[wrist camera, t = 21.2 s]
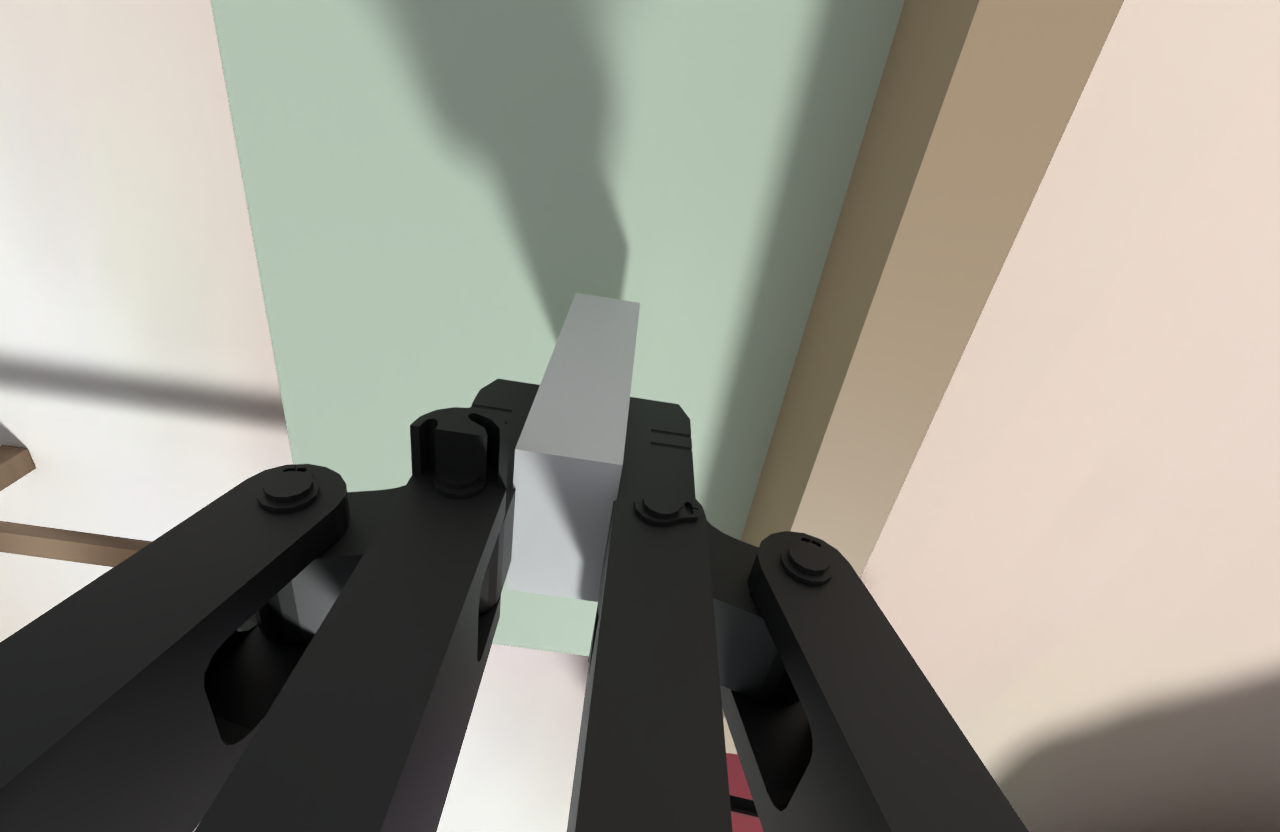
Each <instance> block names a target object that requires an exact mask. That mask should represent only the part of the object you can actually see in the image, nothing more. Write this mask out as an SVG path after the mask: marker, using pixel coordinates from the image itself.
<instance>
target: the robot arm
mask: <svg viewBox="0 0 1280 832" xmlns="http://www.w3.org/2000/svg"><path fill="white" fill-rule="evenodd" d="M639 309H640V303H638V302H632V301H625V300H619V299H613V298H607V297H600V296H594V295H588V294H582V293H576V294H575V297H574V299H573V302H572V304H571V307H570V309H569V312H568V315H567V317H566V320H565V322H564V325H563V327H562V330H561V332H560V335H559V338H558V340H557V343H556V345H555V348H554V350H553V353H552V356H551V358H550V361H549V363H548V366H547V368H546V371H545V373H544V376H543V379H542V381H541V384H540V385H537V384H531V383H524V382H517V381H511V380H504V379H496V380H495V381H493V382H491V383H490V384H488V385H487V386H485V387H483V388H482V389H480V390H479V392H478V394H477V396H476V397H475V399H474V401H473V403H472V406H471V407H470V408H460V407H453V408H446V409H439V410H435V411H432V412H430V413H427V414H424V415H422V416H420V417H419V418H418V419H416V420H415V421H414V422H413V423H412V424H411V425H410V439H411V461H412V476H411V478H410V479H409V481H408V483H407V484H406V485H404V486H401V487H397V488H392V489H384V490H374V491H359V492H347V486H346V483H345V481H344V480H343V478H342V477H341V475H340V474H339V473H337V472H335V471H333V470H331V469H329V468H327V467H324V466H318V465H312V464H294V465H284V466H280V467H276V468H272V469H268V470H265V471H263V472H261V473H259V474H257V475H255V476H252V477H250V478H248V479H246V480H245V481H243V482H242V483H240V484H239V485H237V486H236V487H234V488H233V489H231V490H230V491H228V492H227V493H225V494H224V495H222V496H221V497H219V498H218V499H216V500H215V501H213V502H212V503H210V504H209V505H207V506H206V507H204V508H203V509H201V510H200V511H198V512H197V513H195V514H194V515H192V516H191V517H189V518H188V519H186V520H185V521H183V522H182V523H180V524H179V525H177V526H176V527H174V528H173V529H171V530H169V531H168V532H166V533H165V534H163V535H162V536H160V537H159V538H157V539H156V540H154V541H153V542H151V543H150V544H148V545H147V546H145V547H144V548H142V549H141V550H139V551H138V552H136V553H135V554H133V555H132V556H130V557H129V558H127V559H126V560H124V561H123V562H121V563H120V564H118V565H117V566H115V567H114V568H112V569H111V570H109V571H108V572H106V573H105V574H103V575H102V576H100V577H99V578H97V579H96V580H94V581H93V582H91V583H90V584H88V585H87V586H85V587H84V588H82V589H81V590H79V591H78V592H76V593H74V594H73V595H71V596H70V597H68V598H67V599H65V600H64V601H62V602H61V603H59V604H58V605H56V606H55V607H53V608H52V609H50V610H49V611H47V612H46V613H44V614H43V615H41V616H40V617H38V618H37V619H35V620H34V621H32V622H31V623H29V624H28V625H26V626H25V627H23V628H22V629H20V630H19V631H17V632H16V633H14V634H13V635H11V636H10V637H8V638H7V639H5V640H4V641H2V642H1V643H0V832H192V831H193V830H194V829H195V828H196V827H197V825H198V824H199V823H200V824H199V826H198V827H197V829H196V831H195V832H436V831H437V827H438V824H439V821H440V817H441V814H442V811H443V807H444V804H445V800H446V797H447V794H448V790H449V787H450V784H451V780H452V777H453V773H454V770H455V767H456V763H457V760H458V756H459V753H460V750H461V746H462V743H463V740H464V736H465V733H466V729H467V726H468V723H469V719H470V716H471V713H472V709H473V706H474V702H475V699H476V696H477V692H478V689H479V685H480V682H481V679H482V675H483V672H484V669H485V665H486V662H487V658H488V655H489V652H490V648H491V645H492V642H493V638H494V635H495V631H496V628H497V625H498V621H499V618H500V602H501V592H502V589H503V586H504V583H505V579H506V576H507V573H508V576H507V590H514V591H521V592H528V593H536V594H543V595H550V596H558V597H565V598H572V599H579V600H587V601H594V602H598V605H597V611H596V617H595V623H594V629H593V635H592V641H591V647H590V653H589V659H588V662H589V667H588V675H587V683H586V690H585V698H584V705H583V713H582V721H581V728H580V736H579V743H578V751H577V759H576V766H575V774H574V781H573V789H572V797H571V804H570V812H569V820H568V827H567V832H733V830H732V818H731V806H730V795H729V783H728V771H727V759H726V747H725V735H724V723H723V712H724V715H725V718H726V721H727V724H728V727H729V730H730V733H731V736H732V739H733V742H734V745H735V748H736V751H737V754H738V757H739V760H740V763H741V766H742V769H743V772H744V775H745V778H746V781H747V784H748V787H749V790H750V793H751V796H752V799H753V802H754V805H755V808H756V811H757V814H758V817H759V820H760V823H761V826H762V829H763V832H1028V830H1027V829H1026V827H1025V826H1024V824H1023V823H1022V821H1021V820H1020V818H1019V817H1018V815H1017V814H1016V812H1015V811H1014V809H1013V808H1012V806H1011V805H1010V803H1009V802H1008V800H1007V799H1006V797H1005V796H1004V794H1003V793H1002V791H1001V790H1000V788H999V787H998V785H997V784H996V782H995V781H994V779H993V778H992V776H991V775H990V773H989V772H988V770H987V769H986V767H985V766H984V764H983V763H982V761H981V760H980V758H979V757H978V755H977V754H976V752H975V751H974V749H973V748H972V746H971V745H970V743H969V742H968V740H967V739H966V737H965V736H964V734H963V733H962V731H961V730H960V728H959V727H958V725H957V724H956V722H955V721H954V719H953V718H952V716H951V715H950V713H949V712H948V710H947V709H946V707H945V706H944V704H943V703H942V701H941V700H940V698H939V696H938V695H937V693H936V692H935V690H934V689H933V687H932V686H931V684H930V683H929V681H928V680H927V678H926V677H925V675H924V674H923V672H922V671H921V669H920V668H919V666H918V665H917V663H916V662H915V660H914V659H913V657H912V656H911V654H910V653H909V651H908V650H907V648H906V647H905V645H904V644H903V642H902V641H901V639H900V638H899V636H898V635H897V633H896V632H895V630H894V629H893V627H892V626H891V624H890V623H889V621H888V620H887V618H886V617H885V615H884V614H883V612H882V611H881V609H880V608H879V606H878V605H877V603H876V602H875V600H874V599H873V597H872V596H871V594H870V593H869V591H868V590H867V588H866V587H865V585H864V584H863V582H862V581H861V579H860V578H859V576H858V575H857V573H856V572H855V570H854V569H853V567H852V566H851V564H850V563H849V562H848V561H847V560H846V558H845V557H844V556H843V555H842V554H841V553H840V552H839V551H838V550H837V549H835V548H834V547H832V546H831V545H829V544H828V543H826V542H825V541H823V540H821V539H819V538H816V537H813V536H811V535H808V534H805V533H799V532H791V531H784V532H778V533H773V534H770V535H769V536H768V537H766V538H765V539H764V540H762V541H761V543H760V546H759V547H756V546H753V545H751V544H748V543H746V542H743V541H740V540H738V539H735V538H733V537H731V536H729V535H727V534H725V533H722V532H721V531H720V530H718V529H717V528H715V527H714V526H712V525H711V524H710V523H709V522H708V521H707V520H706V515H705V512H704V510H703V507H702V505H701V504H700V503H699V502H698V501H697V500H696V498H695V483H694V468H693V453H692V438H691V424H690V418H689V417H688V416H687V414H686V413H685V412H684V410H683V409H682V408H681V407H680V405H679V404H674V403H667V402H661V401H654V400H648V399H641V398H635V397H630V393H631V383H632V374H633V365H634V355H635V346H636V337H637V327H638V318H639ZM722 709H723V711H722Z"/></svg>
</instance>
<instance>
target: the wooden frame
mask: <svg viewBox="0 0 1280 832" xmlns="http://www.w3.org/2000/svg"><path fill="white" fill-rule="evenodd" d="M34 469H36V468H35V466H34V463H33V461H32V459H31V457H30V454H29V452H28V450H27V449H25V448H18V447H10V446H3V445H2V446H0V491H1V490H3V489H4V488H6V487H8V486H9V485H11V484H12V483H14V482H15V481H17V480H18V479H20V478H22V477H23V476H25V475H26V474H28V473H29V472H31V471H32V470H34ZM150 543H151V542H150V541H143V540H135V539H128V538H121V537H113V536H106V535H99V534H91V533H84V532H77V531H69V530H62V529H55V528H47V527H40V526H33V525H25V524H18V523H11V522H3V521H0V552H6V553H13V554H21V555H28V556H35V557H43V558H50V559H58V560H65V561H73V562H80V563H87V564H95V565H102V566H110V567H115V566H117V565H118V564H120V563H121V562H123V561H124V560H126V559H127V558H129V557H130V556H132V555H133V554H135V553H136V552H138V551H139V550H141V549H142V548H144V547H145V546H147V545H148V544H150Z"/></svg>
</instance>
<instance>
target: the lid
mask: <svg viewBox="0 0 1280 832" xmlns="http://www.w3.org/2000/svg"><path fill="white" fill-rule="evenodd" d="M1123 2H1124V0H211V5H212V11H213V16H214V22H215V28H216V33H217V39H218V44H219V50H220V56H221V61H222V67H223V73H224V78H225V84H226V89H227V95H228V101H229V106H230V112H231V117H232V123H233V129H234V134H235V140H236V145H237V151H238V157H239V162H240V168H241V173H242V179H243V185H244V190H245V196H246V202H247V207H248V213H249V218H250V224H251V230H252V235H253V241H254V246H255V252H256V258H257V263H258V269H259V274H260V280H261V286H262V291H263V297H264V303H265V308H266V314H267V319H268V325H269V331H270V336H271V342H272V347H273V353H274V359H275V364H276V370H277V375H278V381H279V387H280V392H281V398H282V403H283V409H284V415H285V420H286V426H287V432H288V437H289V443H290V448H291V454H292V460H293V465H294V464H312V465H318V466H324V467H327V468H329V469H331V470H333V471H335V472H337V473H339V474H340V475H341V477H342V478H343V480H344V481H345V483H346V486H347V492H359V491H374V490H384V489H392V488H397V487H401V486H404V485H406V484H407V483H408V481H409V479H410V478H411V476H412V461H411V439H410V425H411V424H412V423H413V422H414V421H415V420H416V419H418V418H419V417H420V416H422V415H424V414H427V413H430V412H432V411H435V410H439V409H446V408H453V407H460V408H470V407H471V406H472V403H473V401H474V399H475V397H476V396H477V394H478V392H479V390H480V389H482V388H483V387H485V386H487V385H488V384H490V383H491V382H493V381H495V380H496V379H504V380H511V381H517V382H524V383H531V384H537V385H540V384H541V381H542V379H543V376H544V373H545V371H546V368H547V366H548V363H549V361H550V358H551V356H552V353H553V350H554V348H555V345H556V343H557V340H558V338H559V335H560V332H561V330H562V327H563V325H564V322H565V320H566V317H567V315H568V312H569V309H570V307H571V304H572V302H573V299H574V297H575V294H576V293H582V294H588V295H594V296H600V297H607V298H613V299H619V300H625V301H632V302H638V303H640V309H639V318H638V327H637V337H636V346H635V355H634V365H633V374H632V383H631V393H630V397H635V398H641V399H648V400H654V401H661V402H667V403H674V404H679V405H680V407H681V408H682V409H683V410H684V412H685V413H686V414H687V416H688V417H689V418H690V424H691V438H692V453H693V468H694V483H695V498H696V500H697V501H698V502H699V503H700V504H701V505H702V507H703V510H704V512H705V515H706V520H707V521H708V522H709V523H710V524H711V525H712V526H714V527H715V528H717V529H718V530H720V531H721V532H722V533H725V534H727V535H729V536H731V537H733V538H735V539H738V540H740V541H743V542H746V543H748V544H751V545H753V546H756V547H759V546H760V543H761V541H762V540H764V539H765V538H766V537H768V536H769V535H770V534H773V533H778V532H784V531H791V532H799V533H805V534H808V535H811V536H813V537H816V538H819V539H821V540H823V541H825V542H826V543H828V544H829V545H831V546H832V547H834V548H835V549H837V550H838V551H839V552H840V553H841V554H842V555H843V556H844V557H845V558H846V560H847V561H848V562H849V563H850V564H851V566H852V567H853V569H854V570H855V572H856V573H857V575H858V576H859V578H860V577H861V575H862V573H863V571H864V569H865V566H866V564H867V562H868V560H869V558H870V556H871V553H872V551H873V549H874V547H875V545H876V542H877V540H878V538H879V536H880V534H881V531H882V529H883V527H884V525H885V523H886V520H887V518H888V516H889V514H890V512H891V510H892V507H893V505H894V503H895V501H896V499H897V496H898V494H899V492H900V490H901V488H902V485H903V483H904V481H905V479H906V477H907V474H908V472H909V470H910V468H911V466H912V464H913V461H914V459H915V457H916V455H917V453H918V450H919V448H920V446H921V444H922V442H923V439H924V437H925V435H926V433H927V431H928V429H929V426H930V424H931V422H932V420H933V418H934V415H935V413H936V411H937V409H938V407H939V404H940V402H941V400H942V398H943V396H944V393H945V391H946V389H947V387H948V385H949V383H950V380H951V378H952V376H953V374H954V372H955V369H956V367H957V365H958V363H959V361H960V358H961V356H962V354H963V352H964V350H965V347H966V345H967V343H968V341H969V339H970V337H971V334H972V332H973V330H974V328H975V326H976V323H977V321H978V319H979V317H980V315H981V312H982V310H983V308H984V306H985V304H986V302H987V299H988V297H989V295H990V293H991V291H992V288H993V286H994V284H995V282H996V280H997V277H998V275H999V273H1000V271H1001V269H1002V266H1003V264H1004V262H1005V260H1006V258H1007V256H1008V253H1009V251H1010V249H1011V247H1012V245H1013V242H1014V240H1015V238H1016V236H1017V234H1018V231H1019V229H1020V227H1021V225H1022V223H1023V221H1024V218H1025V216H1026V214H1027V212H1028V210H1029V207H1030V205H1031V203H1032V201H1033V199H1034V196H1035V194H1036V192H1037V190H1038V188H1039V185H1040V183H1041V181H1042V179H1043V177H1044V175H1045V172H1046V170H1047V168H1048V166H1049V164H1050V161H1051V159H1052V157H1053V155H1054V153H1055V150H1056V148H1057V146H1058V144H1059V142H1060V139H1061V137H1062V135H1063V133H1064V131H1065V129H1066V126H1067V124H1068V122H1069V120H1070V118H1071V115H1072V113H1073V111H1074V109H1075V107H1076V104H1077V102H1078V100H1079V98H1080V96H1081V94H1082V91H1083V89H1084V87H1085V85H1086V83H1087V80H1088V78H1089V76H1090V74H1091V72H1092V69H1093V67H1094V65H1095V63H1096V61H1097V58H1098V56H1099V54H1100V52H1101V50H1102V48H1103V45H1104V43H1105V41H1106V39H1107V37H1108V34H1109V32H1110V30H1111V28H1112V26H1113V23H1114V21H1115V19H1116V17H1117V15H1118V12H1119V10H1120V8H1121V6H1122V4H1123ZM507 576H508V573H507ZM507 576H506V579H505V583H504V586H503V589H502V592H501V602H500V618H499V621H498V625H497V628H496V631H495V635H494V638H493V642H492V644H499V645H507V646H514V647H522V648H529V649H537V650H544V651H552V652H559V653H567V654H574V655H582V656H589V653H590V647H591V641H592V635H593V629H594V623H595V617H596V611H597V605H598V602H594V601H587V600H579V599H572V598H565V597H558V596H550V595H543V594H536V593H528V592H521V591H514V590H507ZM722 711H723V709H722ZM723 723H724V735H725V747H726V753H731V754H737V751H736V748H735V745H734V742H733V739H732V736H731V733H730V730H729V727H728V724H727V721H726V718H725V715H724V712H723Z"/></svg>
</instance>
